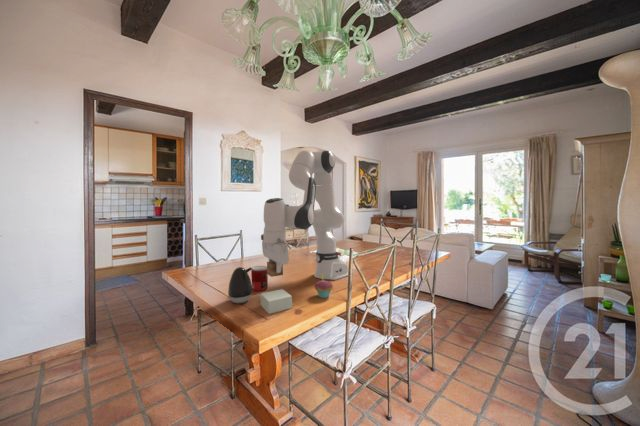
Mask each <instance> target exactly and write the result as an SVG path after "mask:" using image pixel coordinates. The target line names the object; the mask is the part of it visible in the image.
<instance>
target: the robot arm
mask: <svg viewBox="0 0 640 426" xmlns="http://www.w3.org/2000/svg"><path fill="white" fill-rule="evenodd" d="M335 166H336V158H335V155H334V153H333V152H332V151H330V150H322V151H321V150H319V151H308V150H301V151H299V152H298V153H297V154H296V156H295V158H294V160H293V161H292V163H291V166H290V169H289V172H288V179H289V182H290V183H291V184H292V185H293V186H294V187H295V188H297V189H299V190H302V191H304V193H303V202H302V204H301V205H287V204H286V203H285V201H284V199H283V198H279V197H275V198H269V199H267V200H266V201H265V202H264V205H263V223H264V226H263V227H264V228H263V233H262V234H261V235H260V240H261V248H262V254H263V257H265V258H267V259H268V262H271V261H275V262H276V265H277V266H276V268H275V270H276V272H277V273H280V272H281V267H282V265H283V266H284V265H287V264H289V262H290V261H289V260H290V256H289V255H290V254H289V247H288V244H286V240H287V238H286V228H288V229H299V230H303V231H304V230H308V229H309V228H310V227H313V229H314V233H315V237H316V252H315V258H316V259H315V260H316V261H315V262H316V265H315V271H314V278H317V279H321V280H322V276H321V273H323V280H332V281H336V280H340V279H343V278H346V277H349V276H348V269H349V268H348V265H347V263H346V262H345V261H344V260H342V259H341V258H339V257H341V256H342V255H343V253H342V252H340V251H337V245H336V244H337V243H336V241H337V240H336V237H335V236H334V234H333V232H332V230H336V229H341V228H342V226H343V225H344V223H345V216H344V213H343V212H342V211H341V210H340V209H339V206H338V204H337V202H336V198H335V189H334V179H333V174H332V173H333V172H332V170H333V169H334V168H335ZM315 201H316V202H317V204H318V205H319V208H317V209H315V203H316V202H315Z"/></svg>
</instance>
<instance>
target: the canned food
mask: <svg viewBox="0 0 640 426" xmlns="http://www.w3.org/2000/svg"><path fill="white" fill-rule="evenodd" d="M251 268H252V270H250V271H251V274H250V275H251V285H252V292H259V293H261V292H265V291H267V290H268V288H269V283H268V279H269V275H268V274H267V265H256V266H252V267H251Z"/></svg>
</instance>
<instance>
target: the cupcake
mask: <svg viewBox="0 0 640 426" xmlns="http://www.w3.org/2000/svg"><path fill="white" fill-rule="evenodd" d="M321 276H322V279H321V280H318V281H317V282H316V283H314V289H315V291H316V292H317V294H318V297H319V298H320V299H326V298H329V297H330V294H331V292H332V290H333V288H334V287H333V283H332V282H331V281H329V280H328V279H323V273H321Z"/></svg>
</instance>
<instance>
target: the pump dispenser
mask: <svg viewBox="0 0 640 426" xmlns="http://www.w3.org/2000/svg"><path fill="white" fill-rule="evenodd" d="M251 270H252V267H251V266H250V267H249V268H246V269H245V267H242V266H241V267H236V268H235V269H234V270H233V272H232V274H231V276H230V278H229V282H228V290H227V295H228V297H229V299H230V301H231V302H232V303H234V304H243V303H246V302H248V301H249V300H250V299H251V297H252V293H253V290H252V279H251V278H250V275H249V272H250V271H251Z"/></svg>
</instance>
